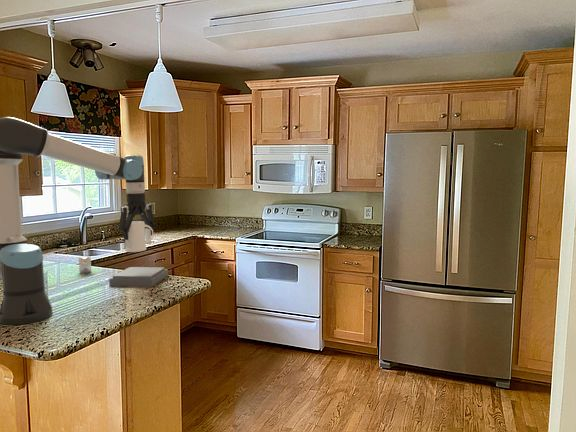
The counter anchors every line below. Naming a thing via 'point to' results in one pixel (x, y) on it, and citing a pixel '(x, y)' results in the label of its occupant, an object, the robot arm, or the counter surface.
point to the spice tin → (84, 265)
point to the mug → (138, 236)
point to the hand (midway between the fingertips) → (138, 245)
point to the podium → (139, 276)
